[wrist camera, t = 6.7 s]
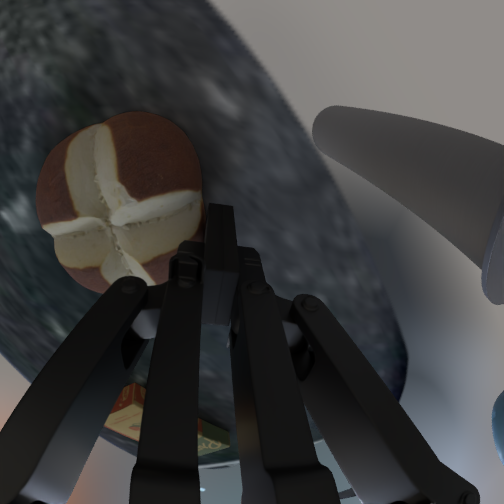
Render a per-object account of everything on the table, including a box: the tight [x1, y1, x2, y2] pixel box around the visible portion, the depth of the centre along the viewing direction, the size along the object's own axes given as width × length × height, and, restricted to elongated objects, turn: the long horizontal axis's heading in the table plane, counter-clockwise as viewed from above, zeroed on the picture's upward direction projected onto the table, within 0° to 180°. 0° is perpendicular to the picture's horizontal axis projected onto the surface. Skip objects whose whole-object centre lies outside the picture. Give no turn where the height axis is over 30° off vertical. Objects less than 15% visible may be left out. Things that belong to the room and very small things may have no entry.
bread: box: [36, 111, 206, 293], centre depth 15 cm, size 11×11×5 cm
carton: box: [104, 383, 230, 456], centre depth 29 cm, size 8×16×4 cm, turn 34°
